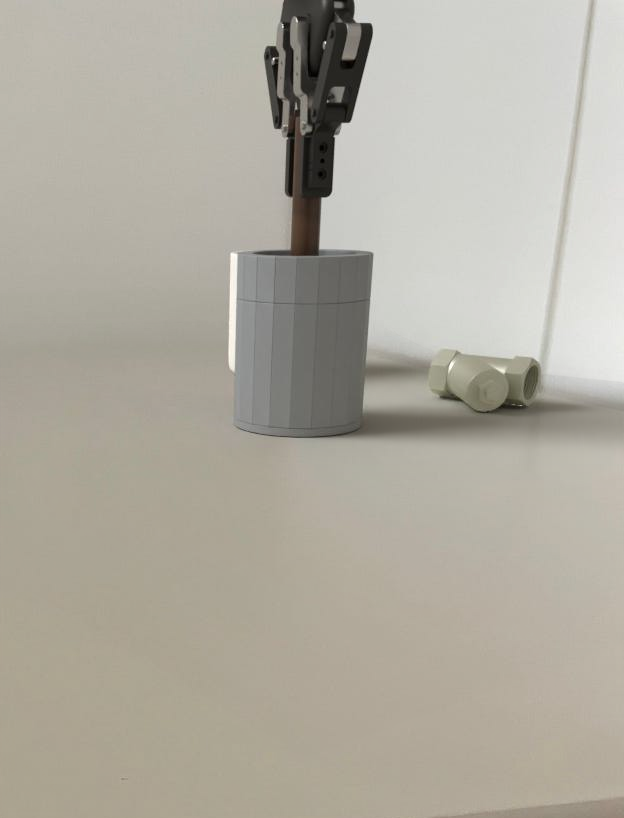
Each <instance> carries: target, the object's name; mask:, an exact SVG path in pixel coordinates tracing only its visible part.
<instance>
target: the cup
mask: <svg viewBox="0 0 624 818" xmlns="http://www.w3.org/2000/svg"><path fill="white" fill-rule="evenodd" d="M253 250H254V251H248V250H242V251H243V252H238V255H237V297H236V339H235V374H234V383H233V384H234V385H233V387H234V388H233V389H234V390H233V425H234V426H235V427H237V428H238V429H240V430H243V431H245V432H249V433H254V434H260V435H265V436H266V435H267V436H275V437H287V438H289V437H290V438H291V437H292V438H315V437H316V438H317V437H328V436H329V437H330V436H337V435H343V434H348V433H350V432H354V431H357V430H359V428H360V427H362V418H363V410H364V395H365V381H366V366H367V352H368V340H369V339H368V337H369V326H370V323H369V322H370V312H371V311H370V310H371V309H370V308H371V294H372V283H373V282H372V281H373V269H374V267H373V266H374V256H375V255H374V252H373V251H367V250H357V249H356V250H355V249H335V248H319V256H290V248H285V249H283V248H281V249H275V248H274V249H253Z"/></svg>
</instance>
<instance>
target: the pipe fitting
mask: <svg viewBox="0 0 624 818" xmlns="http://www.w3.org/2000/svg"><path fill="white" fill-rule="evenodd" d="M427 378H428V379H427V380H428V388H429V391H431V392H432V393H433V394H434V395H436V396H438V397H443V396H446V397H445V398H451V397H453V398H455V397H458V398H459V399H460V400H461V401H463V402H464V403H466V405H468V406H470V407H471V408H472V409H473V410H474V411H477V412H481V413H488V412H487V411H489V412H493V411H495V410H497V409H498V408H499V407H501V406H502V405H503V404H504V402H506V403H507V404H508V405H510V404H515V405H522V406H528V405H529V406H530V405H531V404H532V403H533V401H534V400H535V398H536V397H537V395H538V392H539V389H540V387H541V379H542V368H541V363H540V362H539V361H538V360H536V359H535V358H533V357H531V356H522V355H515V356H514V357H513V358H508V357H497V356H488V355H487V356H486V355H479V354H478V355H477V354H468V353H462V352H460V351H459V350H458V349H451V348H449V349H448V348H441V349H440V350H438V352H437V353H436V354H435V355H434V357H433V358H432V360H431V362H430V365H429V369H428V376H427ZM529 406H528V407H529Z"/></svg>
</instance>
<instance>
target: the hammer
mask: <svg viewBox="0 0 624 818" xmlns="http://www.w3.org/2000/svg"><path fill="white" fill-rule="evenodd" d="M302 137H307V136H303V135H302V134H301V131H300V117H296V119H295V145H294V170H293V196H292V199H291V200H292V201H291V222H290V223H291V227H290V247H289V249H290V256H319V249H320V241H321V222H322V220H321V219H322V201H323V200H322V199H323V198H303V197H301V196H300V195H299V193H298V179H299V154H300V138H302Z"/></svg>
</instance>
